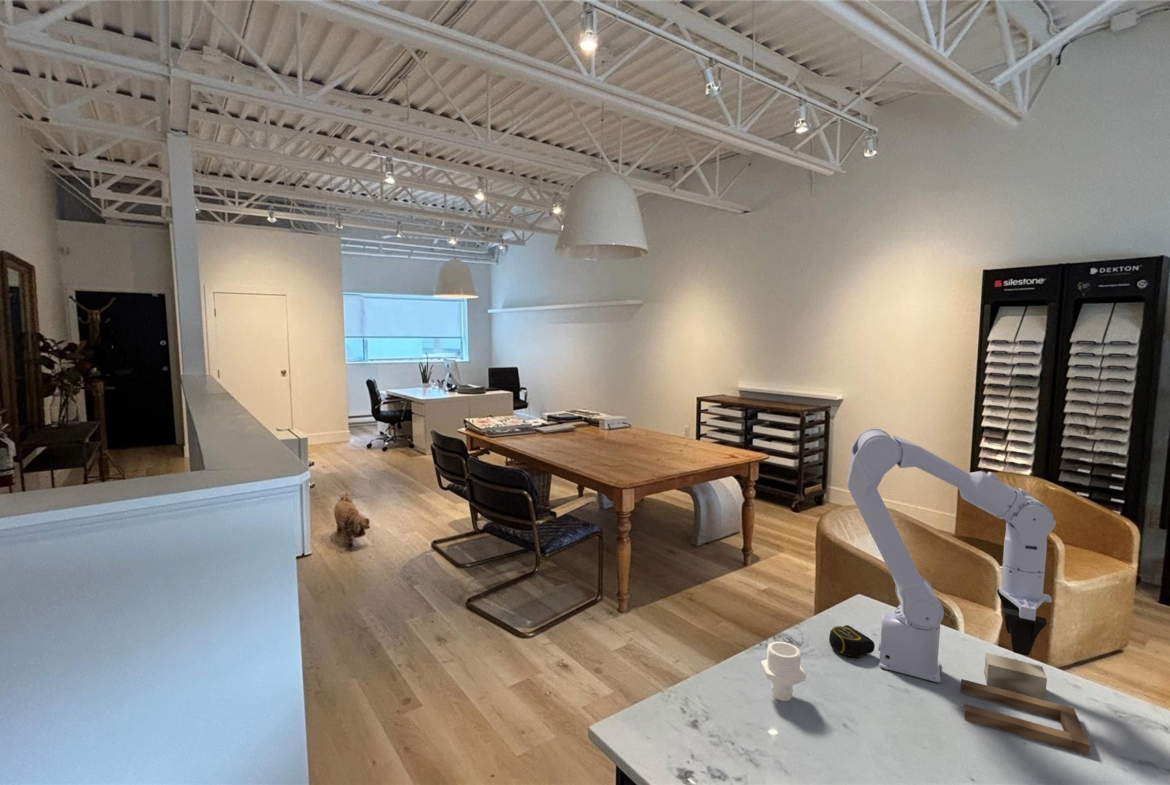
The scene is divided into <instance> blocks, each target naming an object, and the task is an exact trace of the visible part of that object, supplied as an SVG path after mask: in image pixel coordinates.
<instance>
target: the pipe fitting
mask: <svg viewBox="0 0 1170 785" xmlns="http://www.w3.org/2000/svg"><path fill="white" fill-rule="evenodd" d="M801 653H802V652H801V650H800V649H799V648H798V647H797V646H796V645H794V644H792V643H789V642H786V641H785V642H784V641H773V642H770V643H769V644H767V653H766V659H763V660H761V662H760V668H761V669H762V672H763V674H764V676H765V679H767V680H770V681H771V695H772V696H773V698H775V699H776V700H778V701H782V702H788V701H790V700H792V697H793V686H794V685H797V684H799V683H802V682H805V681H806V676H807V674H806V673H805V671H804V669H803V667H802V666H801V657H802V656H801Z"/></svg>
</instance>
